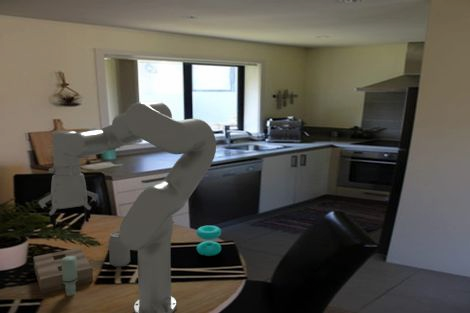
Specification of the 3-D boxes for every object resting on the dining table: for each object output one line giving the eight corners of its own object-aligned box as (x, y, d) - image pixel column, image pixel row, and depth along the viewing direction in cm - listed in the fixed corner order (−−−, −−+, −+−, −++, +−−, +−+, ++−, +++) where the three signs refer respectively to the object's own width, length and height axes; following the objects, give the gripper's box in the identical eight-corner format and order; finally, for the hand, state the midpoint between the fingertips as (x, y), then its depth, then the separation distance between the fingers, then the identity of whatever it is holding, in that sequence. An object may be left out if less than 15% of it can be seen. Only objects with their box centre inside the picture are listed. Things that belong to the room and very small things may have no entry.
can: (124, 268, 143) (123, 237, 141) (106, 266, 144) (104, 236, 142) (133, 260, 150) (132, 230, 148) (116, 258, 151) (114, 229, 149)
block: (93, 281, 133) (92, 267, 132) (41, 293, 124) (40, 279, 124) (80, 259, 150) (80, 247, 149) (34, 269, 141) (33, 256, 140)
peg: (79, 295, 124) (77, 259, 122) (64, 299, 122) (62, 263, 120) (76, 289, 128) (74, 254, 126) (62, 292, 125) (59, 257, 123)
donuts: (193, 226, 160) (216, 223, 163) (193, 249, 161) (216, 245, 165) (200, 234, 150) (224, 231, 154) (200, 258, 152) (224, 254, 156)
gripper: (37, 175, 113) (41, 231, 116) (99, 170, 122) (101, 222, 124) (35, 171, 119) (39, 224, 122) (94, 166, 128) (96, 216, 131)
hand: (70, 223), depth 123 cm, fingers open, 9 cm apart
